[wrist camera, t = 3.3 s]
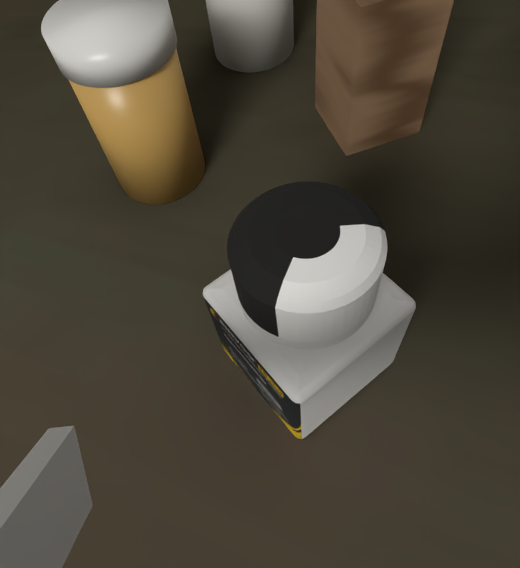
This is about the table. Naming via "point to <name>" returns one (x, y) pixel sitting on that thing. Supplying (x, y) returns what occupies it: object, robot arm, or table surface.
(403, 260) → the table surface
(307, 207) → the medicine bottle
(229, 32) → the white tub
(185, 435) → the table surface
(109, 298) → the table surface
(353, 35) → the walnut block
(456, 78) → the table surface
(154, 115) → the amber jar
